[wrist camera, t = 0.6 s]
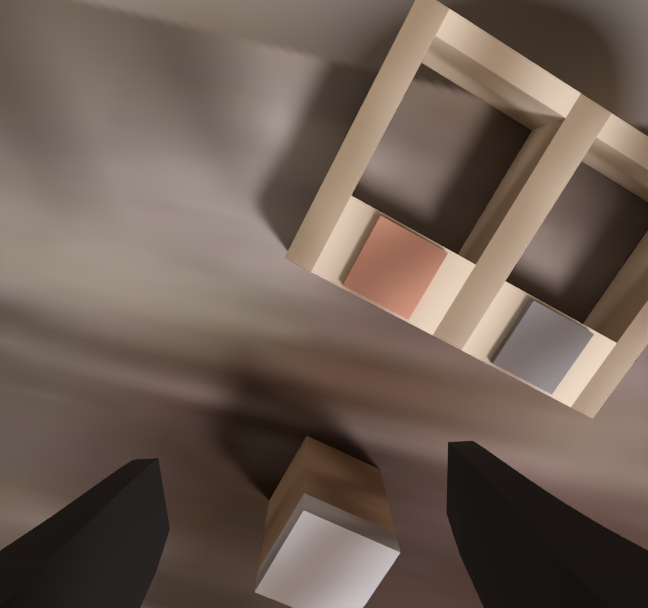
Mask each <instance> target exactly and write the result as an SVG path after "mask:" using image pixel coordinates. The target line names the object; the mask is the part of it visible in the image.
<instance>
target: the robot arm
mask: <svg viewBox="0 0 648 608" xmlns="http://www.w3.org/2000/svg"><path fill="white" fill-rule="evenodd" d="M447 516H448V519H449V522H450V525H451V529H452V532H453V535H454V538H455V541H456V544H457V547H458V550H459V553H460V556H461V558H462V560H463V562H464V565H465V567H466V569H467V571H468V574H469V576H470V578H471V580H472V582H473V585H474V587H475V589H476V591H477V593H478V596H479V598H480V600H481V602H482V604H483V607H484V608H648V550H646V549H644V548H642V547H640V546H638V545H637V544H635V543H633V542H631V541H629V540H627V539H625V538H623V537H622V536H620V535H618V534H616V533H614V532H612V531H610V530H609V529H607V528H605V527H603V526H602V525H600V524H598V523H596V522H595V521H593V520H591V519H590V518H588V517H587V516H585V515H583V514H582V513H580V512H578V511H577V510H575V509H573V508H572V507H570V506H569V505H567V504H565V503H564V502H562V501H561V500H559V499H557V498H556V497H554V496H553V495H551V494H550V493H548V492H547V491H545V490H544V489H542V488H541V487H539V486H538V485H536V484H535V483H533V482H532V481H530V480H529V479H527V478H526V477H524V476H523V475H522V474H520V473H519V472H517V471H516V470H514V469H513V468H512V467H510V466H509V465H507V464H506V463H504V462H503V461H502V460H500V459H499V458H497V457H496V456H495V455H493V454H492V453H490V452H489V451H487V450H486V449H484V448H483V447H482V446H480V445H478V444H477V443H475V442H474V441H462V442H448V475H447ZM169 529H170V528H169V522H168V516H167V509H166V503H165V497H164V491H163V485H162V478H161V472H160V466H159V460H158V458H156V459H137V460H132V461H131V462H129V463H127V464H126V465H124V466H123V467H121V468H120V469H118V470H117V471H115V472H114V473H112V474H111V475H110V476H108V477H107V478H105V479H104V480H102V481H101V482H100V483H98V484H97V485H95V486H94V487H93V488H91V489H90V490H88V491H87V492H86V493H84V494H83V495H81V496H80V497H79V498H77V499H76V500H74V501H73V502H72V503H70V504H69V505H67V506H66V507H64V508H63V509H62V510H60V511H59V512H57V513H56V514H55V515H53V516H52V517H50V518H49V519H47V520H46V521H44V522H43V523H41V524H40V525H38V526H37V527H35V528H34V529H32V530H31V531H29V532H28V533H26V534H25V535H23V536H22V537H20V538H19V539H17V540H16V541H14V542H13V543H11V544H10V545H8V546H7V547H5V548H4V549H2V550H1V551H0V608H140V607H141V604H142V602H143V600H144V598H145V596H146V593H147V591H148V589H149V587H150V584H151V582H152V580H153V577H154V575H155V573H156V570H157V567H158V564H159V561H160V558H161V555H162V552H163V549H164V545H165V542H166V539H167V536H168V532H169Z"/></svg>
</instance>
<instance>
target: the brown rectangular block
mask: <svg viewBox="0 0 648 608" xmlns="http://www.w3.org/2000/svg"><path fill="white" fill-rule="evenodd" d="M399 554H400V549H399V545H398V541H397V537H396V533H395V529H394V525H393V521H392V517H391V513H390V509H389V505H388V501H387V497H386V493H385V489H384V485H383V481H382V477H381V473H380V469H378V468H376V467H373V466H371V465H369V464H367V463H365V462H363V461H360V460H358V459H356V458H354V457H352V456H350V455H347V454H345V453H343V452H341V451H339V450H337V449H335V448H332V447H330V446H328V445H326V444H324V443H322V442H319V441H317V440H315V439H313V438H311V437H309V436H306V437H305V439H304V441H303V443H302V444H301V446H300V448H299V450H298V451H297V453H296V455H295V457H294V458H293V460H292V462H291V464H290V465H289V467H288V469H287V471H286V472H285V474H284V476H283V477H282V479H281V481H280V483H279V484H278V486H277V488H276V490H275V491H274V493H273V495H272V497H271V498H270V500H269V505H268V511H267V518H266V524H265V530H264V536H263V543H262V549H261V555H260V561H259V568H258V574H257V580H256V586H255V592H256V593H258V594H261V595H263V596H266V597H268V598H271V599H273V600H276V601H278V602H281V603H283V604H286V605H288V606H291V607H293V608H363V607H364V606H365V604H366V603H367V601H368V600H369V598H370V597H371V595H372V594H373V592H374V591H375V589H376V588H377V586H378V585H379V583H380V582H381V580H382V579H383V578H384V576H385V575H386V573H387V572H388V570H389V569H390V567H391V566H392V564H393V563H394V561H395V560H396V558H397V557H398V555H399Z"/></svg>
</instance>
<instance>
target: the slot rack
mask: <svg viewBox="0 0 648 608" xmlns="http://www.w3.org/2000/svg"><path fill="white" fill-rule="evenodd" d="M421 62H422V63H423V64H425V65H427V66H428V67H430V68H431V69H433V70H435V71H436V72H438V73H439V74H441V75H443V76H444V77H446V78H447V79H449V80H451V81H452V82H454V83H456V84H457V85H459V86H460V87H462V88H464V89H465V90H467V91H469V92H470V93H472V94H473V95H475V96H477V97H478V98H480V99H481V100H483V101H485V102H486V103H488V104H490V105H491V106H493V107H494V108H496V109H498V110H499V111H501V112H502V113H504V114H506V115H507V116H509V117H511V118H512V119H514V120H515V121H517V122H519V123H520V124H522V125H524V126H525V127H527V128H528V129H530V130H532V131H531V133H530V135H529V136H528V138H527V140H526V141H525V143H524V145H523V146H522V148H521V150H520V151H519V153H518V155H517V156H516V158H515V160H514V161H513V163H512V165H511V166H510V168H509V170H508V171H507V173H506V175H505V176H504V178H503V180H502V181H501V183H500V185H499V186H498V188H497V190H496V191H495V193H494V195H493V196H492V198H491V200H490V201H489V203H488V205H487V206H486V208H485V210H484V211H483V213H482V215H481V216H480V218H479V220H478V221H477V223H476V225H475V226H474V228H473V230H472V231H471V233H470V235H469V236H468V238H467V240H466V241H465V243H464V245H463V246H462V248H461V250H460V251H459V253H458V255H457V254H456V253H454V252H452V251H450V250H448V249H447V248H445V247H443V246H441V245H439V244H438V243H436V242H434V241H432V240H430V239H429V238H427V237H425V236H423V235H421V234H420V233H418V232H416V231H414V230H412V229H411V228H409V227H407V226H405V225H403V224H402V223H400V222H398V221H396V220H394V219H393V218H391V217H389V216H387V215H385V214H384V213H382V212H380V211H378V210H376V209H375V208H373V207H371V206H369V205H367V204H366V203H364V202H362V201H360V200H358V199H357V198H355V197H353V196H351V195H352V193H353V191H354V189H355V187H356V186H357V184H358V182H359V180H360V178H361V176H362V174H363V172H364V170H365V168H366V167H367V165H368V163H369V161H370V159H371V157H372V155H373V153H374V151H375V149H376V148H377V146H378V144H379V142H380V140H381V138H382V136H383V134H384V132H385V130H386V129H387V127H388V125H389V123H390V121H391V119H392V117H393V115H394V113H395V111H396V110H397V108H398V106H399V104H400V102H401V100H402V98H403V96H404V94H405V92H406V91H407V89H408V87H409V85H410V83H411V81H412V79H413V77H414V75H415V73H416V72H417V70H418V68H419V66H420V64H421ZM581 161H582V162H583V163H585V164H587V165H588V166H590V167H592V168H593V169H595V170H596V171H598V172H600V173H601V174H603V175H604V176H606V177H608V178H609V179H611V180H613V181H614V182H616V183H617V184H619V185H621V186H622V187H624V188H625V189H627V190H629V191H630V192H632V193H634V194H635V195H637V196H638V197H640V198H642V199H643V200H645V201H647V202H648V136H646V135H645V134H643V133H642V132H640V131H639V130H637V129H635V128H634V127H632V126H631V125H629V124H628V123H626V122H625V121H623V120H621V119H620V118H618V117H617V116H615V115H614V114H612V113H611V112H609V111H607V110H606V109H604V108H603V107H601V106H600V105H598V104H597V103H595V102H594V101H592V100H590V99H589V98H587V97H586V96H584V95H583V94H581V93H580V92H578V91H576V90H575V89H573V88H572V87H570V86H569V85H567V84H565V83H564V82H562V81H561V80H559V79H558V78H556V77H555V76H553V75H552V74H550V73H548V72H547V71H545V70H544V69H542V68H541V67H539V66H538V65H536V64H535V63H533V62H531V61H530V60H528V59H527V58H525V57H524V56H522V55H521V54H519V53H517V52H516V51H514V50H513V49H511V48H510V47H508V46H506V45H505V44H503V43H502V42H500V41H499V40H497V39H496V38H494V37H493V36H491V35H489V34H488V33H486V32H485V31H483V30H482V29H480V28H479V27H477V26H476V25H474V24H472V23H471V22H469V21H468V20H466V19H465V18H463V17H461V16H460V15H458V14H457V13H455V12H454V11H452V10H450V9H449V8H448V7H446V6H444V5H443V4H441V3H440V2H438V1H437V0H415V2H414V4H413V6H412V8H411V10H410V12H409V14H408V16H407V18H406V20H405V22H404V24H403V26H402V27H401V30H400V31H399V33H398V35H397V37H396V40H395V41H394V43H393V45H392V47H391V49H390V51H389V53H388V55H387V57H386V59H385V61H384V63H383V65H382V67H381V69H380V71H379V73H378V75H377V77H376V79H375V81H374V83H373V85H372V86H371V88H370V90H369V92H368V94H367V96H366V98H365V100H364V102H363V104H362V106H361V108H360V110H359V112H358V114H357V116H356V118H355V120H354V122H353V124H352V126H351V128H350V130H349V132H348V134H347V136H346V138H345V140H344V142H343V144H342V146H341V147H340V149H339V151H338V153H337V155H336V157H335V159H334V161H333V163H332V165H331V167H330V169H329V171H328V173H327V175H326V177H325V179H324V181H323V183H322V185H321V187H320V189H319V191H318V193H317V195H316V197H315V199H314V201H313V203H312V205H311V207H310V209H309V210H308V212H307V214H306V216H305V218H304V220H303V222H302V224H301V226H300V228H299V230H298V232H297V234H296V236H295V238H294V240H293V242H292V244H291V246H290V248H289V250H288V252H287V254H286V256H285V259H287V260H289V261H291V262H293V263H295V264H297V265H299V266H301V267H303V268H305V269H306V270H308V271H310V272H312V273H314V274H316V275H318V276H320V277H322V278H324V279H326V280H328V281H329V282H331V283H333V284H335V285H337V286H339V287H341V288H343V289H345V290H347V291H349V292H351V293H353V294H354V295H356V296H358V297H360V298H362V299H364V300H366V301H368V302H370V303H372V304H374V305H376V306H377V307H379V308H381V309H383V310H385V311H387V312H389V313H391V314H393V315H395V316H397V317H399V318H401V319H402V320H404V321H406V322H408V323H410V324H412V325H414V326H416V327H418V328H420V329H422V330H424V331H425V332H427V333H429V334H431V335H433V336H435V337H437V338H439V339H441V340H443V341H445V342H447V343H449V344H450V345H452V346H454V347H456V348H458V349H460V350H462V351H464V352H466V353H468V354H470V355H472V356H473V357H475V358H477V359H479V360H481V361H483V362H485V363H487V364H489V365H491V366H493V367H495V368H497V369H498V370H500V371H502V372H504V373H506V374H508V375H510V376H512V377H514V378H516V379H518V380H520V381H521V382H523V383H525V384H527V385H529V386H531V387H533V388H535V389H537V390H539V391H541V392H543V393H545V394H546V395H548V396H550V397H552V398H554V399H556V400H558V401H560V402H562V403H564V404H566V405H568V406H569V407H571V408H573V409H575V410H577V411H579V412H581V413H583V414H585V415H587V416H589V417H591V418H593V417H594V416H595V415H596V413H597V412H598V410H599V409H600V408H601V406H602V405H603V404H604V402H605V401H606V400H607V398H608V397H609V395H610V394H611V393H612V391H613V390H614V389H615V387H616V386H617V385H618V383H619V382H620V381H621V379H622V378H623V376H624V375H625V374H626V372H627V371H628V370H629V368H630V367H631V366H632V364H633V363H634V362H635V360H636V359H637V357H638V356H639V355H640V353H641V352H642V351H643V349H644V348H645V347H646V345H647V344H648V230H647V232H646V233H645V235H644V236H643V238H642V239H641V241H640V242H639V243H638V245H637V246H636V248H635V249H634V251H633V252H632V254H631V255H630V256H629V258H628V259H627V261H626V262H625V264H624V265H623V267H622V268H621V269H620V271H619V272H618V274H617V275H616V277H615V278H614V280H613V281H612V283H611V284H610V285H609V287H608V288H607V290H606V291H605V293H604V294H603V296H602V297H601V298H600V300H599V301H598V303H597V304H596V306H595V307H594V309H593V310H592V311H591V313H590V314H589V316H588V317H587V319H586V320H585V322H584V323H583V324H582V323H580V322H578V321H576V320H574V319H573V318H571V317H569V316H567V315H565V314H564V313H562V312H560V311H558V310H556V309H555V308H553V307H551V306H549V305H547V304H546V303H544V302H542V301H540V300H538V299H537V298H535V297H533V296H531V295H529V294H528V293H526V292H524V291H522V290H520V289H519V288H517V287H515V286H513V285H511V284H510V283H508V282H506V279H507V278H508V276H509V274H510V273H511V271H512V270H513V268H514V267H515V265H516V263H517V262H518V260H519V259H520V257H521V256H522V254H523V252H524V251H525V249H526V248H527V246H528V245H529V243H530V241H531V240H532V238H533V237H534V235H535V233H536V232H537V230H538V229H539V227H540V226H541V224H542V222H543V221H544V219H545V218H546V216H547V215H548V213H549V211H550V210H551V208H552V207H553V205H554V203H555V202H556V200H557V199H558V197H559V196H560V194H561V192H562V191H563V189H564V188H565V186H566V185H567V183H568V181H569V180H570V178H571V177H572V175H573V174H574V172H575V170H576V169H577V167H578V166H579V164H580V162H581Z"/></svg>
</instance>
